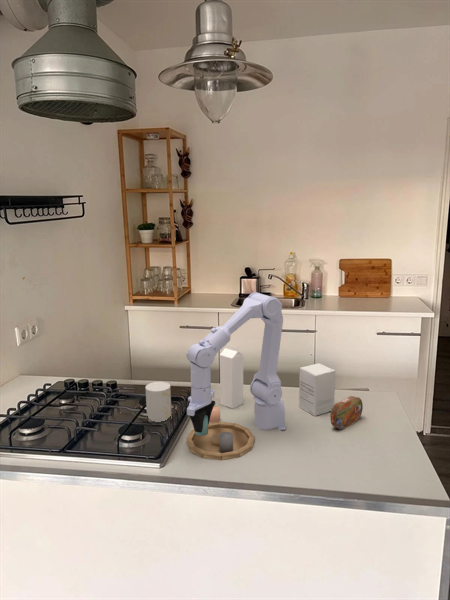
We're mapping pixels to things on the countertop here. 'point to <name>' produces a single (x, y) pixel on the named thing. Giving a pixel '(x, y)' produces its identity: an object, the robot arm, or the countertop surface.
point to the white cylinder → (158, 401)
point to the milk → (231, 377)
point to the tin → (346, 412)
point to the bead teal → (204, 427)
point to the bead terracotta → (215, 415)
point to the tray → (210, 442)
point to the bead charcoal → (225, 442)
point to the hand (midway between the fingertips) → (201, 428)
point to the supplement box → (316, 389)
